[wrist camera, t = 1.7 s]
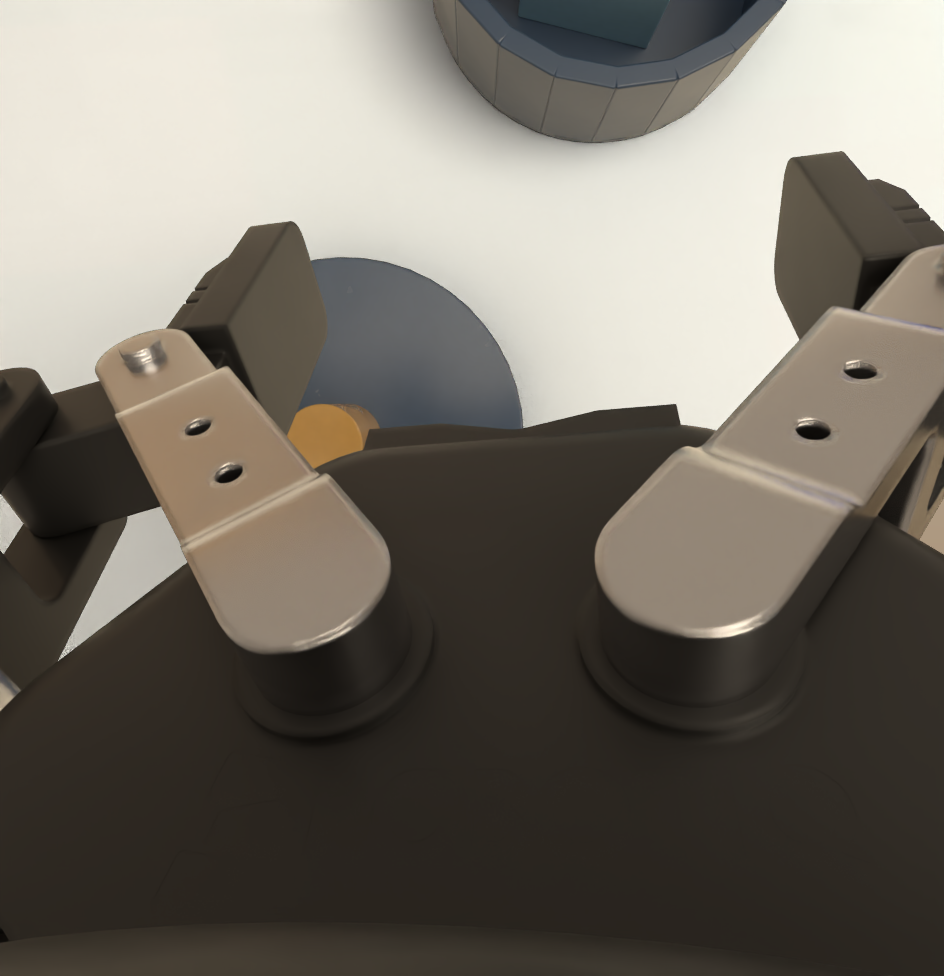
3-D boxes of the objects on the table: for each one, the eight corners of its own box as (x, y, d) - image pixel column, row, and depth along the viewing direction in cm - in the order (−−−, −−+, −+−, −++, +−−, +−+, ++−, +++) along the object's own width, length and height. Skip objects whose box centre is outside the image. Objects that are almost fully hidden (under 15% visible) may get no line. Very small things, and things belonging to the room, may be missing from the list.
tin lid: (127, 503, 31) (40, 528, 25) (278, 198, 29) (226, 144, 23) (422, 657, 31) (410, 720, 25) (583, 367, 30) (611, 358, 24)
